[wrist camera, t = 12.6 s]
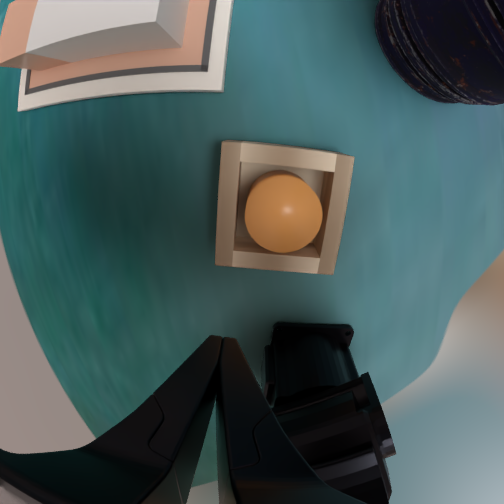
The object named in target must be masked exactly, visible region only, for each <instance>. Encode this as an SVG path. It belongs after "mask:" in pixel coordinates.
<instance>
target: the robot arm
mask: <svg viewBox="0 0 504 504" xmlns="http://www.w3.org/2000/svg"><path fill="white" fill-rule="evenodd" d="M278 328H281V329H282V330H277V329H278ZM347 331H349V332H348V333H346V332H347ZM353 334H354V331H353V328H352V327H351V326H347V325H317V324H297V323H276V324H275V325H274V326H273V330H272V336H271V343H270V345H267V346H266V347H265V348H264V355H263V361H262V368H261V371H262V390H261V388H260V386H259V384H258V382H257V380H256V378H255V376H254V374H253V372H252V370H251V368H250V366H249V364H248V362H247V360H246V358H245V356H244V354H243V352H242V350H241V348H240V345H239V343H238V341H237V339H235V338H230V337H224V338H222V337H221V336H215V335H210V336H209V337H208V338H207V339H206V340H205V341H204V342H203V343H202V344H201V345H200V346H199V347H198V348H197V349H196V350H195V351H194V352H193V353H192V354H191V355H190V356H189V357H188V358H187V359H186V360H185V361H184V363H183V364H182V365H181V366H180V367H179V368H178V369H177V370H176V371H175V372H174V373H173V374H172V375H171V376H170V377H169V378H168V379H167V380H166V381H165V382H164V383H163V384H162V385H161V386H160V387H159V388H158V389H157V390H156V391H155V392H154V393H153V395H151V396H150V397H149V398H148V399H147V400H146V401H145V402H144V403H142V404H141V405H140V406H139V407H138V408H137V409H136V410H135V411H134V412H132V413H131V414H130V415H128V416H127V417H126V418H125V419H123V420H122V421H121V422H119V423H118V424H117V425H115V426H114V427H112V428H111V429H110V430H108V431H107V432H105V433H104V434H103V435H101V436H100V437H98V438H97V439H95V440H94V441H92V442H91V443H89V444H87V445H85V446H83V447H81V448H78V449H73V450H66V451H56V452H45V453H32V454H16V453H10V452H7V451H4V450H2V449H0V504H186V503H187V499H188V496H189V492H190V489H191V485H192V482H193V478H194V474H195V471H196V467H197V464H198V460H199V457H200V453H201V450H202V446H203V443H204V439H205V436H206V432H207V428H208V425H209V421H210V418H211V414H212V411H213V407H214V403H215V398H216V440H217V469H218V490H219V504H389V499H390V496H391V493H392V490H391V483H390V478H389V472H388V468H387V465H386V461H385V458H387V457H390V456H393V455H395V454H396V451H395V447H394V444H393V440H392V437H391V434H390V431H389V428H388V425H387V422H386V419H385V416H384V413H383V410H382V407H381V404H380V402H379V399H378V396H377V394H376V391H375V388H374V386H373V383H372V381H371V378H370V376H369V373H368V372H367V373H364V374H362V375H361V377H359V375H358V372H357V369H356V366H355V364H354V361H353V358H352V355H351V352H350V349H349V346H350V343H351V340H352V337H353Z"/></svg>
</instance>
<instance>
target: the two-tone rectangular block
mask: <svg viewBox="0 0 504 504" xmlns="http://www.w3.org/2000/svg"><path fill="white" fill-rule="evenodd" d="M188 6H189V0H16V1H14V2H12V3H10V4H9V6H8V10H7V13H6V17H5V20H4V24H3V28H2V32H1V36H0V66H1V67H13V68H22V69H31V70H38V71H42V70H46V69H49V68H53V67H56V66H60V65H64V64H68V63H72V62H77V61H81V60H86V59H91V58H96V57H101V56H107V55H113V54H120V53H127V52H135V51H144V50H155V49H168V48H182V46H183V39H184V32H185V25H186V18H187V12H188Z"/></svg>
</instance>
